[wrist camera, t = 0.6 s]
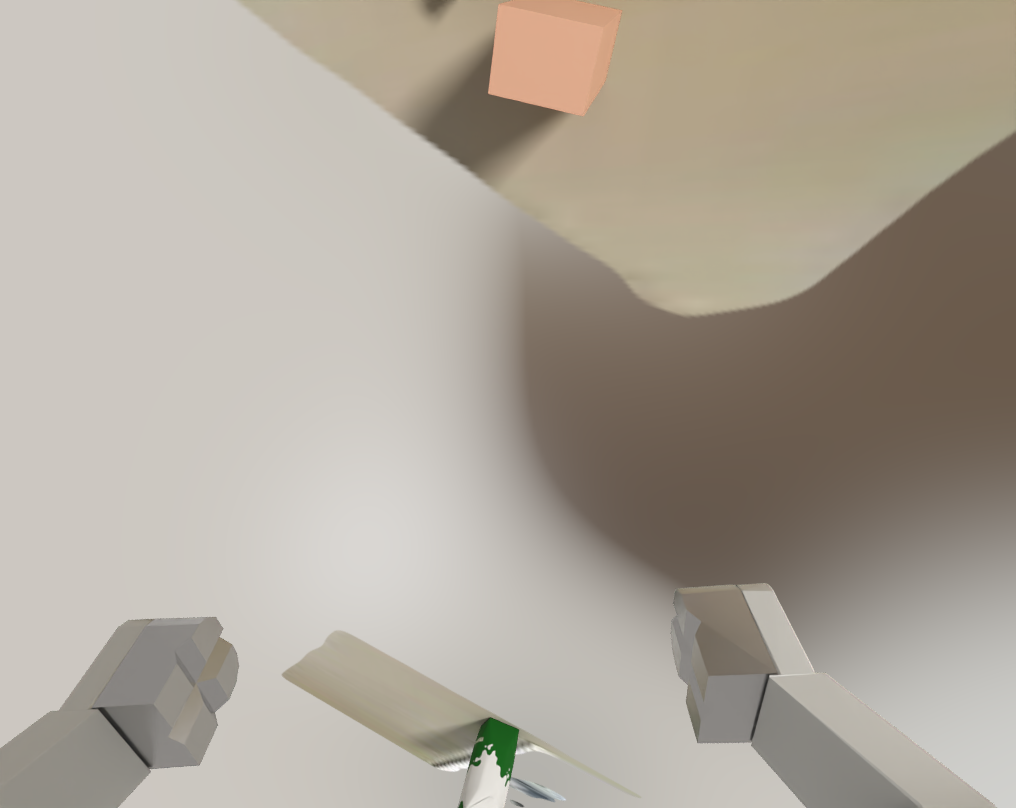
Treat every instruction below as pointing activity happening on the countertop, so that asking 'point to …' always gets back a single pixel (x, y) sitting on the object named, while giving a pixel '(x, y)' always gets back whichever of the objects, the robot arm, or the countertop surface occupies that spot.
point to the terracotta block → (552, 52)
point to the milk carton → (490, 766)
